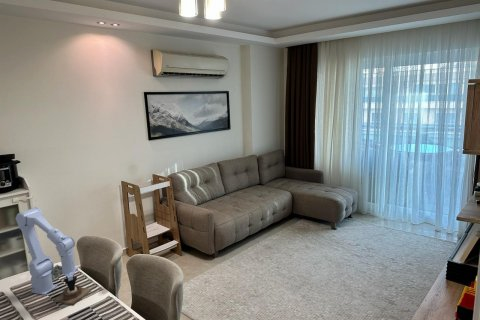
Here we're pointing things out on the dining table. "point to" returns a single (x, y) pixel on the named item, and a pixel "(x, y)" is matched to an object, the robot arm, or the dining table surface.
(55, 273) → the egg carton
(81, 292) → the egg stand
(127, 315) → the dining table surface
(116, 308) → the dining table surface
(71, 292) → the egg
